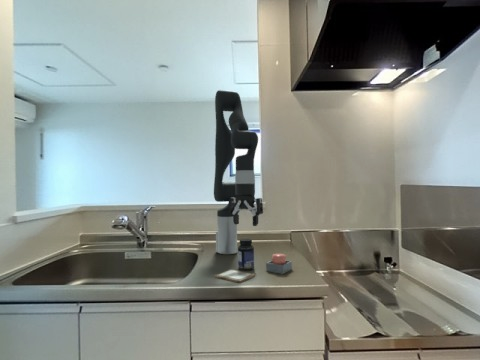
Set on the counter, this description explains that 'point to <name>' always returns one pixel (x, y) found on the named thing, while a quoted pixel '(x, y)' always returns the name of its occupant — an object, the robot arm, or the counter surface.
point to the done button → (279, 259)
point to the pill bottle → (245, 255)
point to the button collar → (279, 267)
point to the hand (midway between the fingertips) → (245, 225)
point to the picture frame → (235, 275)
